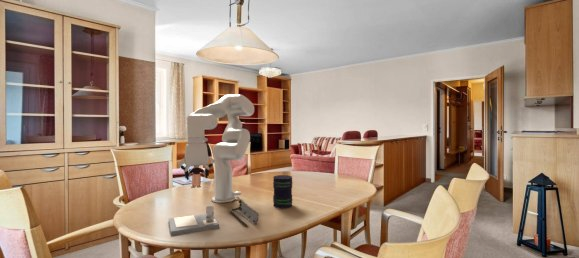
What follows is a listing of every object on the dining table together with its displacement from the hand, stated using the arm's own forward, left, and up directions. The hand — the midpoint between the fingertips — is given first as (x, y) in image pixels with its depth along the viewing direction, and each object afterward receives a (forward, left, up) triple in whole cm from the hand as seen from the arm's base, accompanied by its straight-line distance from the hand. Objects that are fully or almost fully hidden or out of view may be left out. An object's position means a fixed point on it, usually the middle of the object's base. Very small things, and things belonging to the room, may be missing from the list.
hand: (197, 178), depth 131 cm
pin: (-2, +19, -15) cm, 24 cm away
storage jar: (-41, +6, -17) cm, 45 cm away
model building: (-18, +14, -17) cm, 28 cm away
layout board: (+4, +15, -17) cm, 22 cm away
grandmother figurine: (0, 0, -4) cm, 4 cm away
